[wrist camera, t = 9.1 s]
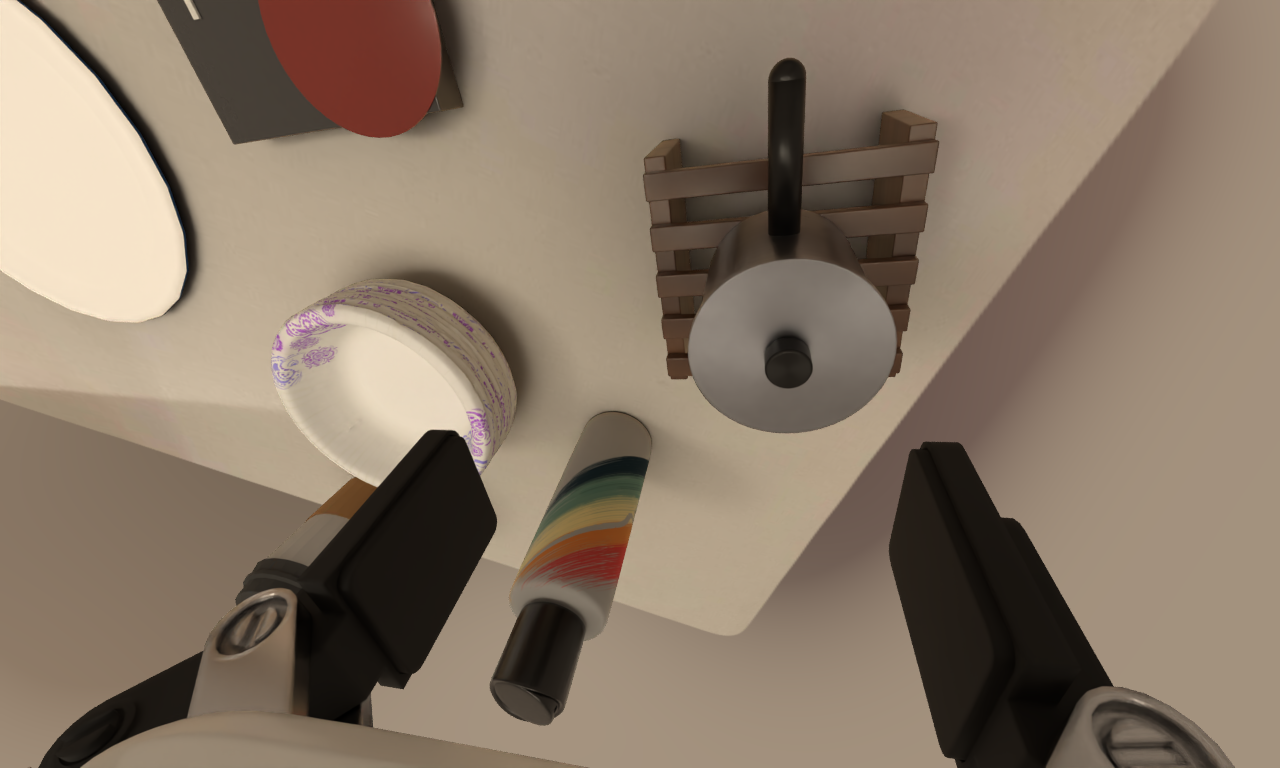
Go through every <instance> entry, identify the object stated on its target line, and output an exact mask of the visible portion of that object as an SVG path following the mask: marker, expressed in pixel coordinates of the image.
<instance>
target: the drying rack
mask: <svg viewBox="0 0 1280 768" xmlns="http://www.w3.org/2000/svg"><path fill="white" fill-rule="evenodd" d="M937 124H938V123H937V122H935V121H933V120H930V119H927V118H925V117H922V116H919V115H917V114H914V113H912V112H909V111H906V110H904V109H903V110H896V111H888V112H883V113H882V119H881V128H880V137H879V145H878V146H870V147H861V148H852V149H844V150H835V151H826V152H817V153H809V154H803V176H802V186H810V185H820V184H830V183H840V182H850V181H860V180H870V179H875V182H874V191H873V200H872V206H861V207H850V208H839V209H828V210H816V211H811V212H814V213H816V214H819V215H821V216H823V217H824V218H826V219H828V220H830V221H831V222H832V223H833V224H835V225H836V226H837V227H838V228H839V229H840V230H841V231H842V232H843V234H844V235H845V237H846V238H851V237H864V236H868V245H867V253H866V259H858V261H859V263H860V265H861V267H862V269H863V271H864V274H865V276H866V278H867V279H868V280H869V281H870V282H871V283H872V284H873V285H874V286H875V287H876V288H877V289H878V291H879V292H880V293H881V295H882V296H883V298H884V299H885V301H886V303H887V305H888V307H889V309H890V311H891V313H892V316H893V318H894V322H895V326H896V333H897V349H896V356H895V360H894V364H893V366H892V369H891V371H890V374H889V376H888V377H895V376H896V373H899V372H900V368H901V362H902V356H903V353H902V351H901V349H900V346H901V340H902V334H903V331H907V327H908V321H909V315H910V308H909V306H908V305H907V304H908V298H909V292H910V286H911V285H912V284H915V280H916V274H917V269H918V263H919V259H918V258H917V257H916V250H917V244H918V238H919V232H923V231H924V228H925V222H926V216H927V210H928V204H927V203H926V202H925V196H926V190H927V184H928V178H929V174H930V173H934V170H935V164H936V158H937V153H938V147H939V141H938V140H935V136H936V130H937ZM644 165H645V173H644V175H643V180H644V188H645V196H646V201H647V202H649V205H650V213H651V221H652V226H651V228H650V235H651V242H652V250H653V252H655V254H656V262H657V270H658V273H657V275H656V282H657V290H658V297H659V298H661V302H662V310H663V317H662V320H661V321H662V329H663V337H664V339H666V343H667V351H668V355H667V358H666V361H667V369H668V375H669V376H671V379H688V376H692V373H691V370H690V366H689V360H688V341H689V334H690V330H691V327H692V323H693V320H694V318H695V316H696V314H695V310H694V298H693V296H702V295H704V290H705V286H706V281H707V276H708V272H709V269H702V270H691V263H690V252H689V250H691V249H704V248H717V247H718V246H719V244H720V242H721V241H722V240H723V239H724V237H725V236H726V235H727V234H728V233H729V232H730V231H731V230H732V229H733V228H734V227H736V226H737V225H738V224H740V223H741V222H742V221H744V220H746V219H748V218H749V217H751V216H749V217H737V218H726V219H715V220H703V221H692V222H687V217H686V205H685V198H691V197H701V196H710V195H720V194H730V193H740V192H750V191H760V190H768V158H765V159H757V160H748V161H739V162H731V163H722V164H713V165H704V166H696V167H687V168H682V158H681V147H680V139H672V140H665V141H662V142H661V143H660V144H659V145H658V146H657V147H656V148H654V149H653V150H652V151H651V152H650V153H649V154H648V155H647V156H646V157H645V158H644Z"/></svg>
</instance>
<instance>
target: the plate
mask: <svg viewBox="0 0 1280 768" xmlns="http://www.w3.org/2000/svg"><path fill="white" fill-rule="evenodd" d="M0 270H1V271H2V272H4V273H5V274H7V275H8V276H10V277H11V278H13V279H14V280H16V281H17V282H19V283H20V284H22V285H23V286H25V287H27V288H28V289H30V290H31V291H33V292H35V293H37V294H39V295H41V296H43V297H45V298H47V299H49V300H51V301H53V302H55V303H58V304H60V305H62V306H64V307H66V308H68V309H70V310H73V311H76V312H80V313H83V314H86V315H89V316H93V317H96V318H99V319H103V320H106V321H117V322H133V323H139V322H143V321H146V320H149V319H152V318H156V317H159V316H162V315H164V314H165V313H166V312H167V311H168V310H169V309H170V308H171V307H172V306H173V305H174V304H175V303H176V302H177V301H178V300H179V299H180V298H181V296H182V292H183V289H184V285H185V282H186V278H187V274H188V271H189V268H188V256H187V245H186V234H185V230H184V227H183V224H182V221H181V219H180V216H179V213H178V210H177V207H176V204H175V201H174V198H173V195H172V192H171V189H170V186H169V184H168V182H167V181H166V179H165V177H164V175H163V173H162V171H161V170H160V168H159V166H158V164H157V162H156V160H155V159H154V157H153V155H152V153H151V151H150V149H149V148H148V146H147V144H146V142H145V140H144V138H143V136H142V135H141V133H140V132H139V130H138V129H137V128H136V126H135V125H134V124H133V122H132V121H131V120H130V118H129V117H128V115H127V114H126V113H125V111H124V110H123V109H122V107H121V106H120V105H119V103H118V102H117V101H116V99H115V98H114V97H113V95H112V94H111V92H110V91H109V90H108V88H107V87H106V86H105V84H104V83H103V82H102V80H101V79H100V78H99V76H98V75H97V74H96V73H95V72H94V71H93V70H92V69H91V68H90V67H89V66H88V65H87V64H86V63H85V62H84V61H83V60H82V59H81V58H80V57H79V55H78V54H77V53H76V52H75V51H74V50H73V49H72V48H71V47H70V46H69V45H68V44H67V43H66V42H65V41H64V40H63V39H62V38H61V37H60V36H59V35H58V34H57V32H56V31H55V30H54V29H53V28H52V27H51V26H50V25H49V24H48V23H47V22H46V21H45V20H44V19H42V18H41V17H40V16H39V15H37V14H36V13H35V12H34V11H32V10H31V9H30V8H29V7H27V6H26V5H25V4H24V3H22V2H21V1H20V0H0Z"/></svg>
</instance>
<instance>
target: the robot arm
mask: <svg viewBox="0 0 1280 768" xmlns="http://www.w3.org/2000/svg"><path fill="white" fill-rule="evenodd" d="M496 527H497V517H496V514H495V512H494V509H493V507H492V504H491V502H490V499H489V497H488V495H487V492H486V490H485V487H484V485H483V482H482V480H481V477H480V475H479V472H478V470H477V467H476V465H475V463H474V460H473V458H472V455H471V453H470V450H469V448H468V445H467V443H466V441H465V439H464V438H463V437H460V436H459V434H458V433H457V432H456V431H454V430H429V431H427V432H426V433H425V434H424V435H423V436H422V437H421V438H420V439H419V440H418V442H417V443H416V444H415V445H414V446H413V447H412V448H411V450H410V451H409V452H408V453H407V454H406V455H405V456H404V458H403V459H402V460H401V461H400V462H399V463H398V465H397V466H396V467H395V468H394V469H393V470H392V471H391V473H390V474H389V475H388V476H387V477H386V478H385V479H384V481H383V482H382V483H381V484H380V485H379V486H378V487H377V489H376V490H375V491H374V492H373V493H372V494H371V495H370V497H369V498H368V499H367V500H366V501H365V502H364V503H363V505H362V506H361V507H360V508H359V509H358V510H357V512H356V513H355V514H354V515H353V516H352V517H351V518H350V520H349V521H348V522H347V523H346V524H345V525H344V526H343V528H342V529H341V530H340V531H339V532H338V533H337V534H336V536H335V537H334V538H333V539H332V540H331V541H330V542H329V544H328V545H327V546H326V547H325V548H324V549H323V551H322V552H321V553H320V554H319V555H318V556H317V557H316V559H315V560H314V561H313V562H312V563H311V564H310V565H309V567H308V568H307V569H306V570H305V571H304V572H303V573H302V575H301V576H300V577H299V578H298V579H297V580H296V581H297V582H298V583H299V584H300V586H301V587H302V588H301V590H300V591H299V592H298V593H297V594H296V595H295V594H294V593H293V592H292V591H291V590H289V589H285V588H275V589H269V590H266V591H263V592H260V593H257V594H255V595H253V596H252V597H250V598H248V599H246V600H244V601H243V602H241V603H240V604H238V605H237V606H236V607H234V608H233V609H232V610H230V611H229V612H228V613H227V614H226V615H225V616H224V617H223V618H222V619H221V620H220V621H219V622H218V623H217V625H216V626H215V627H214V629H213V630H212V631H211V633H210V635H209V637H208V639H207V641H206V644H205V646H204V651H202V652H200V653H198V654H196V655H194V656H192V657H190V658H188V659H186V660H184V661H182V662H180V663H178V664H176V665H174V666H173V667H171V668H169V669H167V670H165V671H163V672H161V673H159V674H157V675H155V676H153V677H151V678H149V679H147V680H146V681H143V682H141V683H139V684H138V685H136V686H134V687H132V688H130V689H128V690H126V691H124V692H122V693H120V694H118V695H116V696H114V697H112V698H110V699H108V700H106V701H105V702H103V703H102V704H100V705H98V706H97V707H95V708H93V709H92V710H90V711H89V712H87V713H86V714H85V715H84V716H82V717H81V718H80V719H79V720H77V721H76V722H75V723H73V724H72V725H71V726H70V727H69V728H68V729H67V730H66V731H65V732H64V733H63V734H62V735H61V736H60V737H59V738H58V739H57V740H56V742H55V743H54V744H53V745H52V747H51V748H50V749H49V751H48V752H47V753H46V755H45V756H44V758H43V760H42V762H41V764H40V766H39V768H587V767H581V766H576V765H571V764H566V763H560V762H555V761H550V760H545V759H539V758H534V757H528V756H524V755H518V754H513V753H508V752H502V751H497V750H492V749H486V748H481V747H475V746H470V745H465V744H459V743H454V742H448V741H443V740H437V739H432V738H427V737H421V736H416V735H410V734H405V733H399V732H394V731H388V730H383V729H378V728H373V720H372V704H371V691H372V690H373V688H374V686H375V685H376V683H377V681H378V683H379V684H380V685H381V686H387V687H393V688H400V689H404V687H405V686H406V684H407V682H408V680H409V678H410V677H411V675H412V674H414V673H416V672H417V671H418V670H419V669H420V668H421V666H422V665H423V663H424V661H425V659H426V657H427V656H428V654H429V652H430V650H431V648H432V647H433V645H434V643H435V640H436V639H437V637H438V636H439V634H440V632H441V630H442V628H443V626H444V625H445V623H446V621H447V619H448V617H449V615H450V614H451V612H452V610H453V608H454V606H455V604H456V602H457V601H458V599H459V597H460V595H461V593H462V591H463V590H464V587H465V586H466V584H467V582H468V580H469V579H470V577H471V575H472V573H473V571H474V569H475V568H476V566H477V564H478V562H479V560H480V558H481V557H482V555H483V553H484V551H485V549H486V547H487V546H488V544H489V542H490V540H491V538H492V536H493V535H494V533H495V530H496ZM889 556H890V562H891V566H892V570H893V573H894V577H895V581H896V585H897V589H898V592H899V596H900V600H901V603H902V607H903V611H904V615H905V619H906V622H907V626H908V630H909V633H910V637H911V641H912V645H913V648H914V652H915V655H916V660H917V663H918V667H919V671H920V674H921V678H922V682H923V686H924V689H925V693H926V697H927V701H928V704H929V708H930V712H931V715H932V719H933V723H934V727H935V731H936V734H937V738H938V742H939V745H940V748H941V750H942V752H943V754H944V756H945V757H947V758H953V759H955V761H956V765H957V768H1235V767H1234V766H1233V765H1232V763H1231V762H1230V760H1229V759H1228V758H1227V756H1226V755H1225V754H1224V752H1223V751H1222V750H1221V748H1220V747H1219V746H1218V744H1217V743H1215V741H1213V740H1212V739H1211V738H1210V737H1209V736H1208V735H1207V734H1206V733H1205V732H1204V731H1203V730H1202V729H1201V728H1200V727H1198V726H1197V725H1196V724H1195V723H1194V722H1193V721H1191V720H1190V719H1188V718H1187V717H1185V716H1184V715H1182V714H1181V713H1179V712H1178V711H1177V710H1175V709H1174V708H1172V707H1171V706H1169V705H1167V704H1165V703H1163V702H1161V701H1159V700H1157V699H1155V698H1153V697H1151V696H1149V695H1147V694H1144V693H1141V692H1137V691H1134V690H1130V689H1127V688H1123V687H1114V686H1113V685H1112V683H1111V681H1110V679H1109V677H1108V676H1107V674H1106V672H1105V671H1104V669H1103V667H1102V665H1101V663H1100V662H1099V660H1098V658H1097V656H1096V655H1095V653H1094V651H1093V649H1092V648H1091V646H1090V644H1089V642H1088V640H1087V639H1086V637H1085V635H1084V634H1083V632H1082V630H1081V628H1080V626H1079V625H1078V623H1077V621H1076V620H1075V618H1074V616H1073V614H1072V612H1071V611H1070V609H1069V607H1068V605H1067V604H1066V602H1065V600H1064V598H1063V597H1062V595H1061V593H1060V591H1059V590H1058V588H1057V586H1056V584H1055V582H1054V581H1053V579H1052V577H1051V575H1050V574H1049V572H1048V570H1047V568H1046V567H1045V565H1044V563H1043V562H1042V560H1041V558H1040V556H1039V554H1038V553H1037V551H1036V549H1035V547H1034V546H1033V544H1032V542H1031V541H1030V539H1029V537H1028V535H1027V533H1026V532H1025V530H1024V529H1023V527H1022V526H1021V525H1020V523H1018V522H1017V521H1016V520H1015V519H1013V518H1001V517H1000V515H999V513H998V511H997V509H996V507H995V506H994V504H993V502H992V500H991V498H990V496H989V494H988V492H987V491H986V489H985V487H984V485H983V483H982V481H981V480H980V478H979V476H978V474H977V472H976V470H975V468H974V466H973V464H972V462H971V460H970V459H969V457H968V455H967V453H966V451H965V449H964V448H963V446H962V445H961V444H960V443H958V442H923V444H922V445H921V448H920V449H912V450H911V451H910V454H909V458H908V463H907V467H906V471H905V476H904V480H903V485H902V490H901V494H900V498H899V503H898V508H897V512H896V516H895V521H894V525H893V530H892V534H891V539H890V544H889ZM29 768H31V767H29Z"/></svg>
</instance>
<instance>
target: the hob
mask: <svg viewBox="0 0 1280 768" xmlns="http://www.w3.org/2000/svg"><path fill="white" fill-rule="evenodd" d="M157 1H158V3H159V5H160V6H161V8H162V10H163V12H164V14H165V16H166V18H167V20H168V22H169V23H170V25H171V27H172V29H173V31H174V33H175V35H176V37H177V38H178V40H179V42H180V44H181V46H182V48H183V50H184V52H185V54H186V55H187V57H188V59H189V61H190V63H191V65H192V67H193V69H194V71H195V72H196V74H197V76H198V78H199V80H200V82H201V84H202V86H203V88H204V89H205V91H206V93H207V95H208V97H209V99H210V101H211V103H212V105H213V106H214V108H215V110H216V112H217V114H218V116H219V118H220V120H221V121H222V123H223V125H224V127H225V129H226V131H227V133H228V135H229V137H230V138H231V140H232V142H233V144H242V143H248V142H254V141H260V140H266V139H273V138H279V137H285V136H291V135H297V134H304V133H310V132H316V131H322V130H328V129H334V128H341V126H339V125H338V124H336V123H334V122H333V121H332V120H330V119H329V118H327V117H326V116H325V115H323V114H322V113H321V112H320V111H319V110H317V109H316V108H315V107H314V106H313V105H312V104H311V103H310V102H309V101H308V100H307V99H306V98H305V97H304V96H303V94H302V93H301V92H300V91H299V90H298V88H297V87H296V86H295V84H294V83H293V82H292V80H291V79H290V77H289V76H288V75H287V73H286V71H285V70H284V68H283V66H282V65H281V63H280V61H279V59H278V57H277V55H276V53H275V51H274V49H273V47H272V45H271V42H270V40H269V37H268V35H267V32H266V29H265V26H264V23H263V20H262V16H261V12H260V7H259V3H258V0H157ZM431 1H432V4H433V7H434V3H433V0H431ZM434 10H435V7H434ZM435 14H436V18H437V22H438V26H439V32H440V39H441V50H442V66H441V76H440V82H439V87H438V90H437V93H436V96H435V99H434V101H433V103H432V105H431V107H430V109H429V111H428V112H427V113H433V112H440V111H445V110H450V109H456V108H461V107H463V103H462V99H461V96H460V93H459V89H458V86H457V82H456V79H455V75H454V72H453V69H452V65H451V62H450V58H449V55H448V51H447V48H446V44H445V41H444V38H443V34H442V31H441V27H440V24H439V20H438V17H437V13H436V10H435Z"/></svg>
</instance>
